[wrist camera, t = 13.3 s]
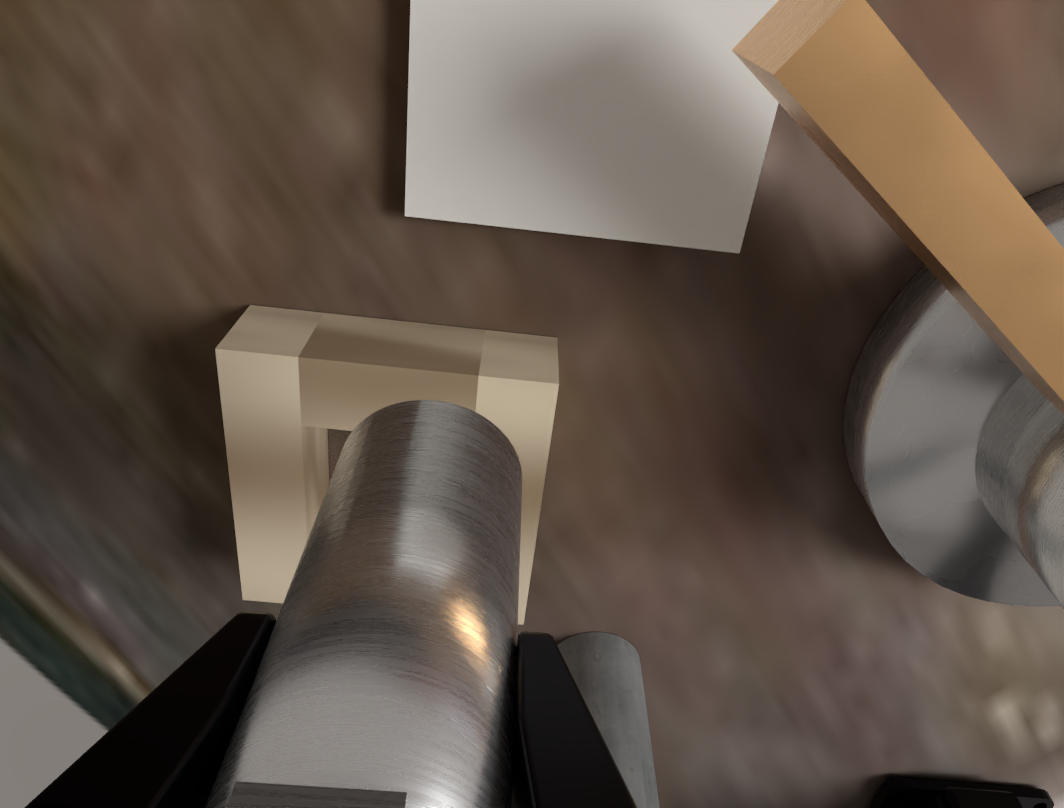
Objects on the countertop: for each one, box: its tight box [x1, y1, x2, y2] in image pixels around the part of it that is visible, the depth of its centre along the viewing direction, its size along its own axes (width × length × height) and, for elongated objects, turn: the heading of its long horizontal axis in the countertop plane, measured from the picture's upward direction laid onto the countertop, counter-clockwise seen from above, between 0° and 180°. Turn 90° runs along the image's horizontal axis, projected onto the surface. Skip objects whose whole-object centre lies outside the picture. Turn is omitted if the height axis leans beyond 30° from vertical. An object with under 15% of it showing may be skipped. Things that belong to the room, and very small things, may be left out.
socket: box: [215, 305, 559, 625], centre depth 21 cm, size 8×8×2 cm
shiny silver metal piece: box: [205, 400, 522, 808], centre depth 9 cm, size 5×3×8 cm, turn 175°
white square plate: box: [405, 0, 779, 254], centre depth 17 cm, size 8×8×1 cm
